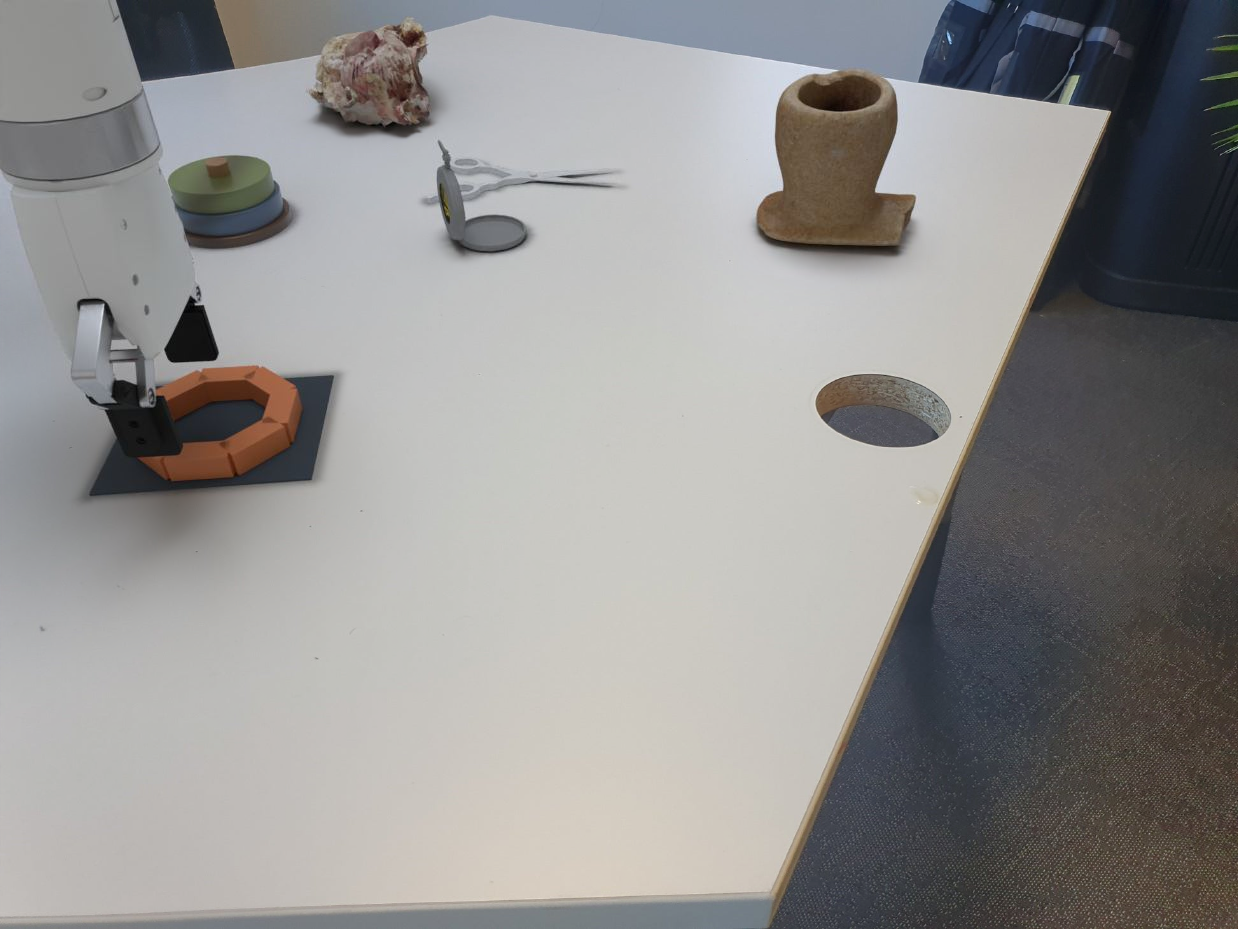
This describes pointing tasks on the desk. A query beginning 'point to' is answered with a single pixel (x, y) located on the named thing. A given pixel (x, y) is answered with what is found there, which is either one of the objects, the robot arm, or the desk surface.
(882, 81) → the stone cup
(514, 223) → the pocket watch
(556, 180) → the scissors
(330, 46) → the mineral formation
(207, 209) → the stack
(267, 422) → the ring
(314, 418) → the mat
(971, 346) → the desk surface
